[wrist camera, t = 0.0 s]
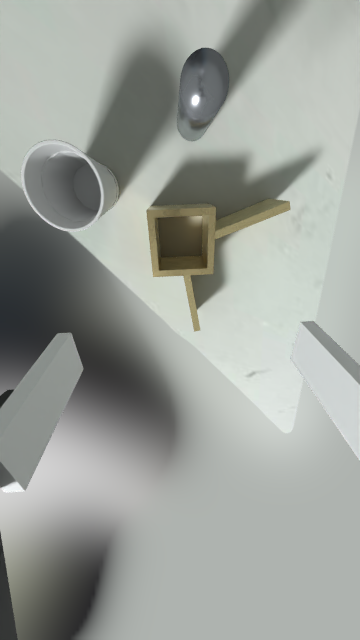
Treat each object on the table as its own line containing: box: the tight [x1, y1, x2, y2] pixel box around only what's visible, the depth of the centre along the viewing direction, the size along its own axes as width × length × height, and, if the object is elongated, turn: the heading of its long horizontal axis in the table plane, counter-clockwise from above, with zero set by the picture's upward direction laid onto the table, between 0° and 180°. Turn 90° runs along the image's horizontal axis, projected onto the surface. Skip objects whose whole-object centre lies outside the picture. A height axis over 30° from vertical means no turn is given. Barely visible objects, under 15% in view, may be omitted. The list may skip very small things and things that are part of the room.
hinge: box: [147, 199, 290, 331], centre depth 36 cm, size 19×18×7 cm
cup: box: [21, 140, 119, 231], centre depth 28 cm, size 8×8×12 cm
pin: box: [177, 48, 229, 141], centre depth 24 cm, size 4×4×13 cm
